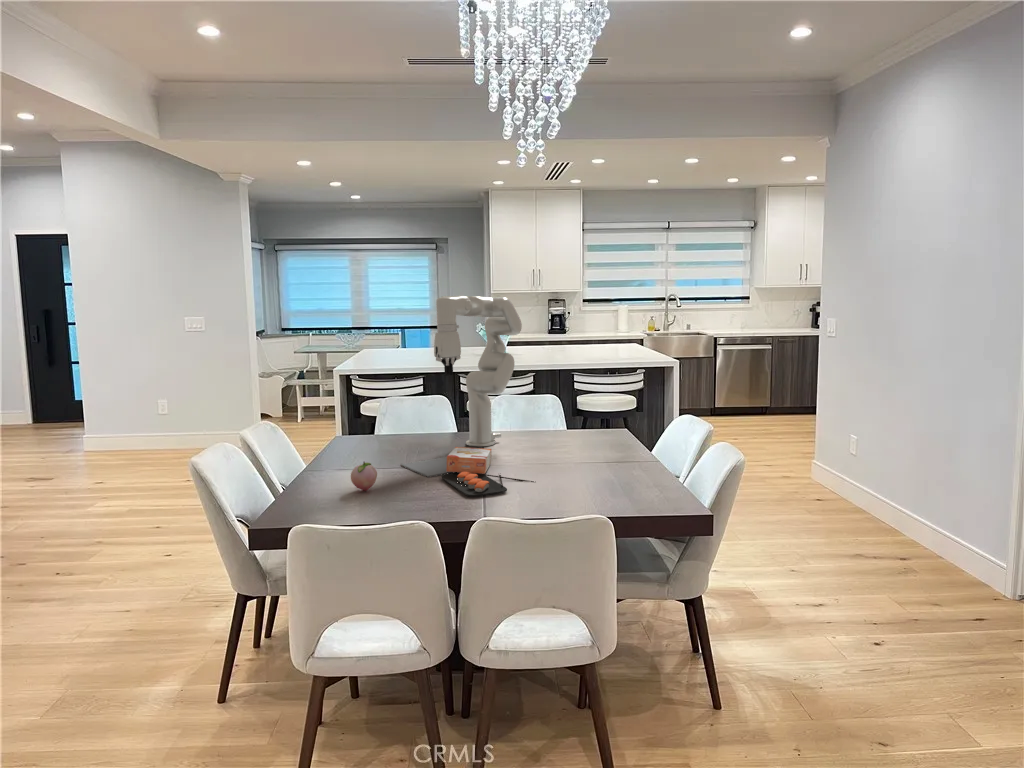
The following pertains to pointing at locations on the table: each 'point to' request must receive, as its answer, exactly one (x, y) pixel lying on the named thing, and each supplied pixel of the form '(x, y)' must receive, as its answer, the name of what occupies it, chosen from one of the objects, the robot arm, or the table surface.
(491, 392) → the robot arm
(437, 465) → the mat
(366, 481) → the decorative fruit
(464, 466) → the cracker box
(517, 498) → the table surface
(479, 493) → the sushi plate
